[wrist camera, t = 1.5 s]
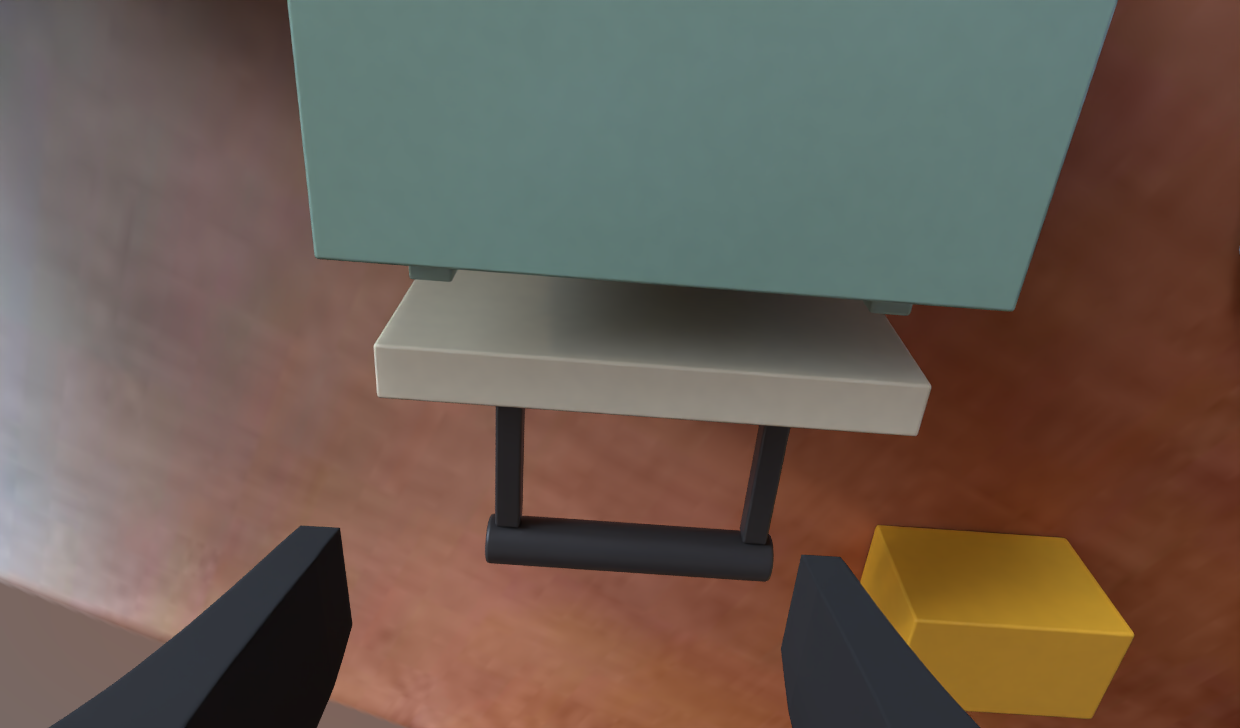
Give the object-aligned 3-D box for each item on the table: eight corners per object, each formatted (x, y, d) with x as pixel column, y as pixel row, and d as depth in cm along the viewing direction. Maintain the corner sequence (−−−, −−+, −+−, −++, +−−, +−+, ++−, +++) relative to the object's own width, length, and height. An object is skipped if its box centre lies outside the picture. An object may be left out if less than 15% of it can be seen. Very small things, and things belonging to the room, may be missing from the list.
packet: (1066, 536, 25) (1137, 635, 22) (1032, 616, 27) (1092, 720, 23) (875, 523, 25) (915, 620, 22) (852, 604, 27) (886, 707, 23)
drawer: (813, 498, 24) (857, 639, 19) (440, 472, 23) (392, 608, 19) (988, -250, 15) (1146, -331, 11) (414, -304, 15) (315, -411, 10)
